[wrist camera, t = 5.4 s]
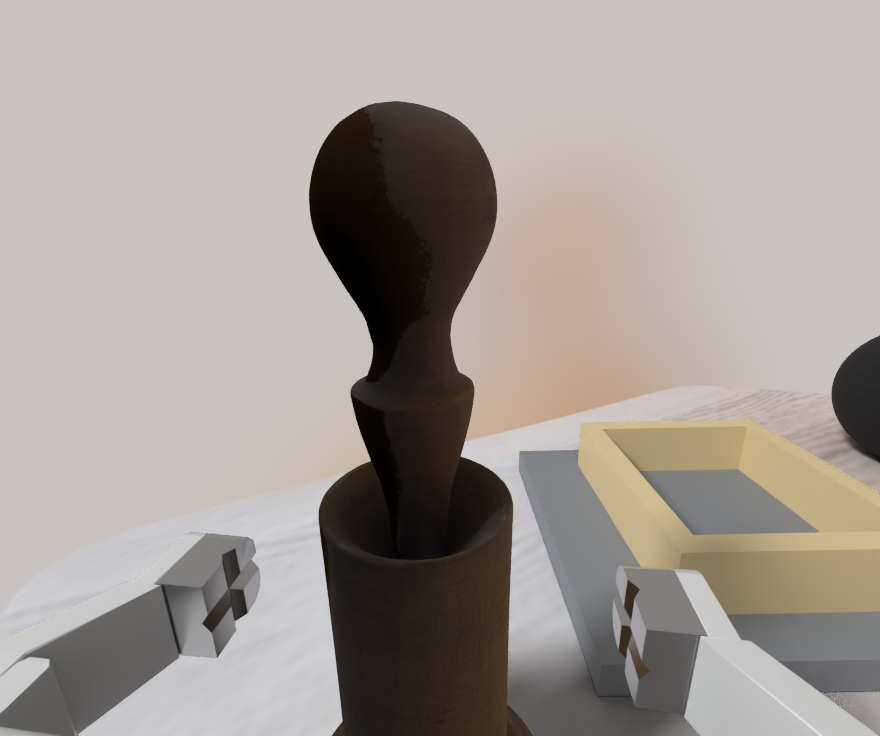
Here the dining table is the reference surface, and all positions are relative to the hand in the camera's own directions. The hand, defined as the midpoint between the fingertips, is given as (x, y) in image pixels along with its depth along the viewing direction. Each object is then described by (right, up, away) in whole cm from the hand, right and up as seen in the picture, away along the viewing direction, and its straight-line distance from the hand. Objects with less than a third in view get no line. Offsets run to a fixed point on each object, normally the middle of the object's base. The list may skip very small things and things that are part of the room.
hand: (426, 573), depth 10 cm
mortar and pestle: (0, -9, +2) cm, 9 cm away
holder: (+15, -5, +14) cm, 21 cm away
